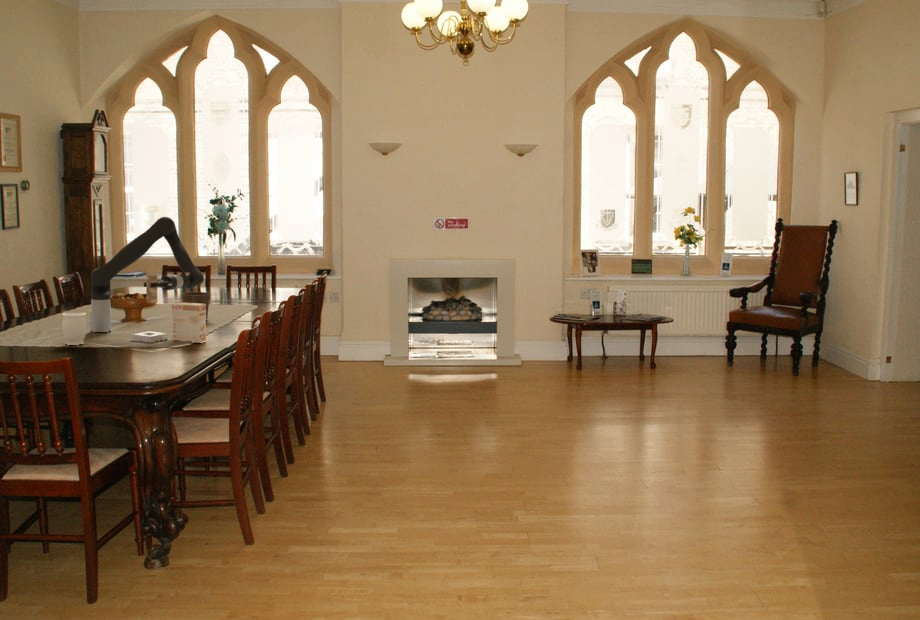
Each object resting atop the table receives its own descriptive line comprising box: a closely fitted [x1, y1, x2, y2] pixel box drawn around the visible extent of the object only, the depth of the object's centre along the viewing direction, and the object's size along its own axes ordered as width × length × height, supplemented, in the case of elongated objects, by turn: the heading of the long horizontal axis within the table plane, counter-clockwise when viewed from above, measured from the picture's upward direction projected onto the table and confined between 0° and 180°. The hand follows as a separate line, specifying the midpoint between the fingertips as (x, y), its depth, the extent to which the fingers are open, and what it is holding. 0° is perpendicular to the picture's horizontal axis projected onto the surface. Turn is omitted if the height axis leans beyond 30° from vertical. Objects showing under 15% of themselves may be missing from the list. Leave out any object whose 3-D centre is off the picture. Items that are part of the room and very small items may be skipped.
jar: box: [61, 311, 87, 346], centre depth 424 cm, size 11×10×15 cm
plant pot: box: [181, 291, 212, 320], centre depth 510 cm, size 16×16×16 cm
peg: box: [145, 273, 158, 304], centre depth 441 cm, size 4×4×14 cm
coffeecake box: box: [171, 301, 207, 342], centre depth 440 cm, size 15×7×20 cm, turn 74°
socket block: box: [130, 331, 169, 344], centre depth 438 cm, size 12×12×4 cm
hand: (147, 285), depth 438 cm, fingers closed on peg, 3 cm apart
